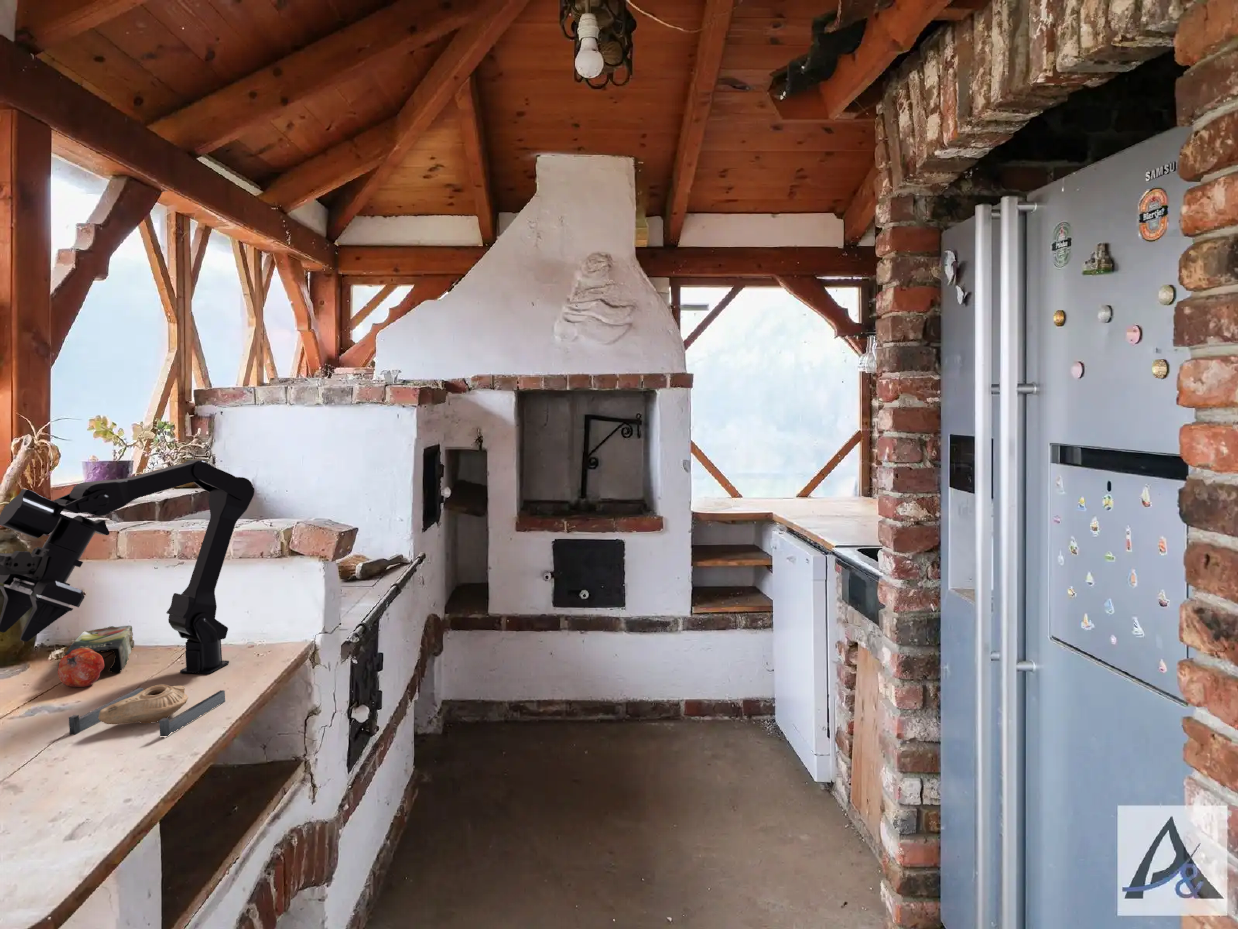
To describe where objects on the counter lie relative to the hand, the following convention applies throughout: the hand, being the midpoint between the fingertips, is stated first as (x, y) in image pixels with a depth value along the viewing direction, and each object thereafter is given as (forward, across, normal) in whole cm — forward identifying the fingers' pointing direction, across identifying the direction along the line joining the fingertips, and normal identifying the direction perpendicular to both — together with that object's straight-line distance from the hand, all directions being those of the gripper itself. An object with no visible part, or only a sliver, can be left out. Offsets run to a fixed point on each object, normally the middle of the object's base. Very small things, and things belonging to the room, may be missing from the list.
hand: (11, 636), depth 127 cm
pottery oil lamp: (+7, +18, +17) cm, 26 cm away
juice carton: (+2, -21, +27) cm, 34 cm away
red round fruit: (+6, -11, +20) cm, 23 cm away
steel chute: (+6, +18, +18) cm, 26 cm away
